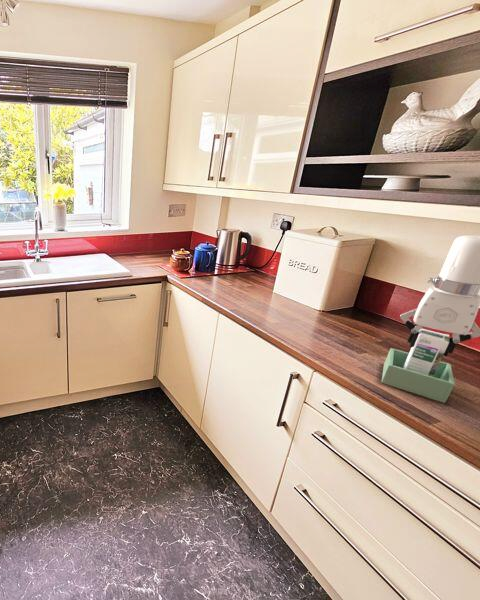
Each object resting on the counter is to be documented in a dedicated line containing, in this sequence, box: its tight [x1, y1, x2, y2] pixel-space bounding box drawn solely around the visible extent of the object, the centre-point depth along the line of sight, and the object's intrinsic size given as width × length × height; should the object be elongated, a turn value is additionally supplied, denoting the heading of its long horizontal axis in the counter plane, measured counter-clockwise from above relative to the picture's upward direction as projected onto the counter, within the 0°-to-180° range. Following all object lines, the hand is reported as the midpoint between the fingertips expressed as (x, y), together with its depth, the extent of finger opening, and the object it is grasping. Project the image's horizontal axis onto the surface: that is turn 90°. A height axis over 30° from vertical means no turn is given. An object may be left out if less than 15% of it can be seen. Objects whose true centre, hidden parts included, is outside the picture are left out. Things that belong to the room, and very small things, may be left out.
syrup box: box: [403, 328, 451, 377], centre depth 91 cm, size 6×6×14 cm
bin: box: [381, 347, 455, 404], centre depth 93 cm, size 13×13×6 cm
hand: (427, 349), depth 90 cm, fingers closed on syrup box, 5 cm apart
